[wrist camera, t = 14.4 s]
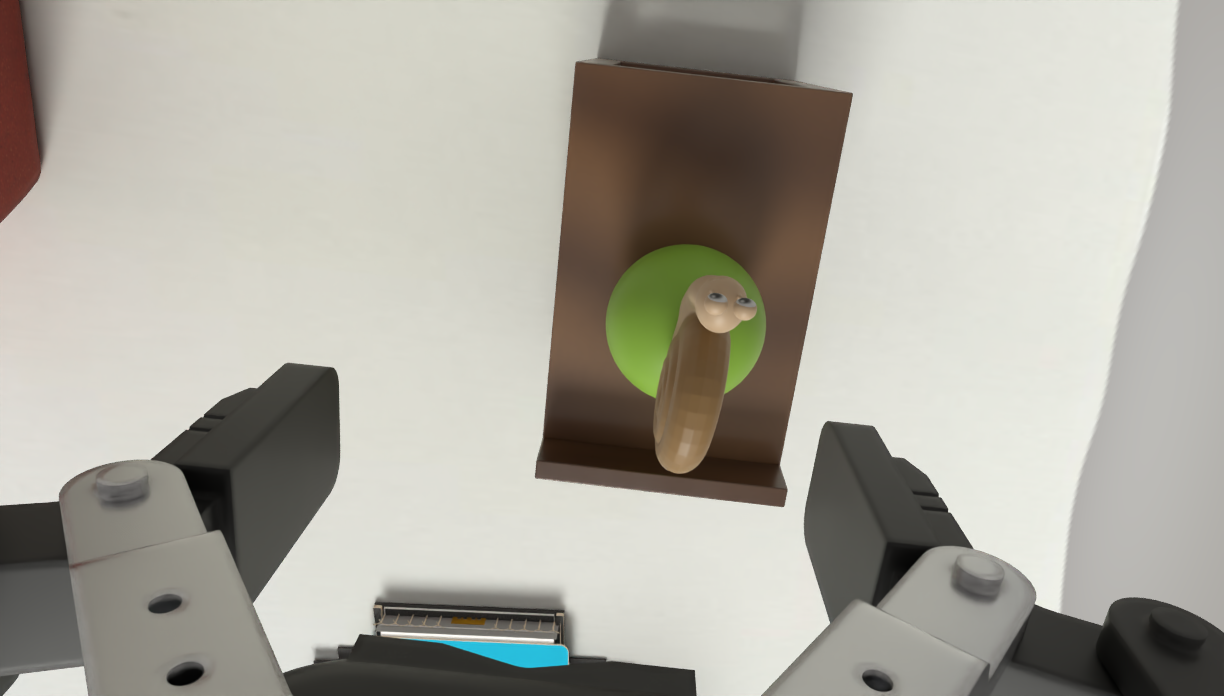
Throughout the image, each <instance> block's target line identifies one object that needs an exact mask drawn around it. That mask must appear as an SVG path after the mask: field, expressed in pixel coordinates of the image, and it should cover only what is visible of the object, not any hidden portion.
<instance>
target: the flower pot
mask: <svg viewBox="0 0 1224 696" xmlns="http://www.w3.org/2000/svg"><path fill="white" fill-rule="evenodd" d="M40 173H41V163H40V157H39V150H38V143H37V136H36V127H35V119H34V112H33V104H32V97H31V90H30V82H29V74H28V66H27V59H26V51H25V43H24V35H23V28H22V20H21V12H20V5H19V0H0V223H1V222H2V221H3V220H4V219H5V218H6V217H7V216H8V215H9V213H10V212H11V211H12V210H13V209H14V208H15V207H16V206H17V205H18V204H19V203H20V202H21V201H22V199H23V198H24V197H25V196H26V195H27V194H28V192H29V191H30V190H31V189H32V187H33V186H34V185H35V183H36V182H37V181H38V179H39V176H40Z"/></svg>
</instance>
